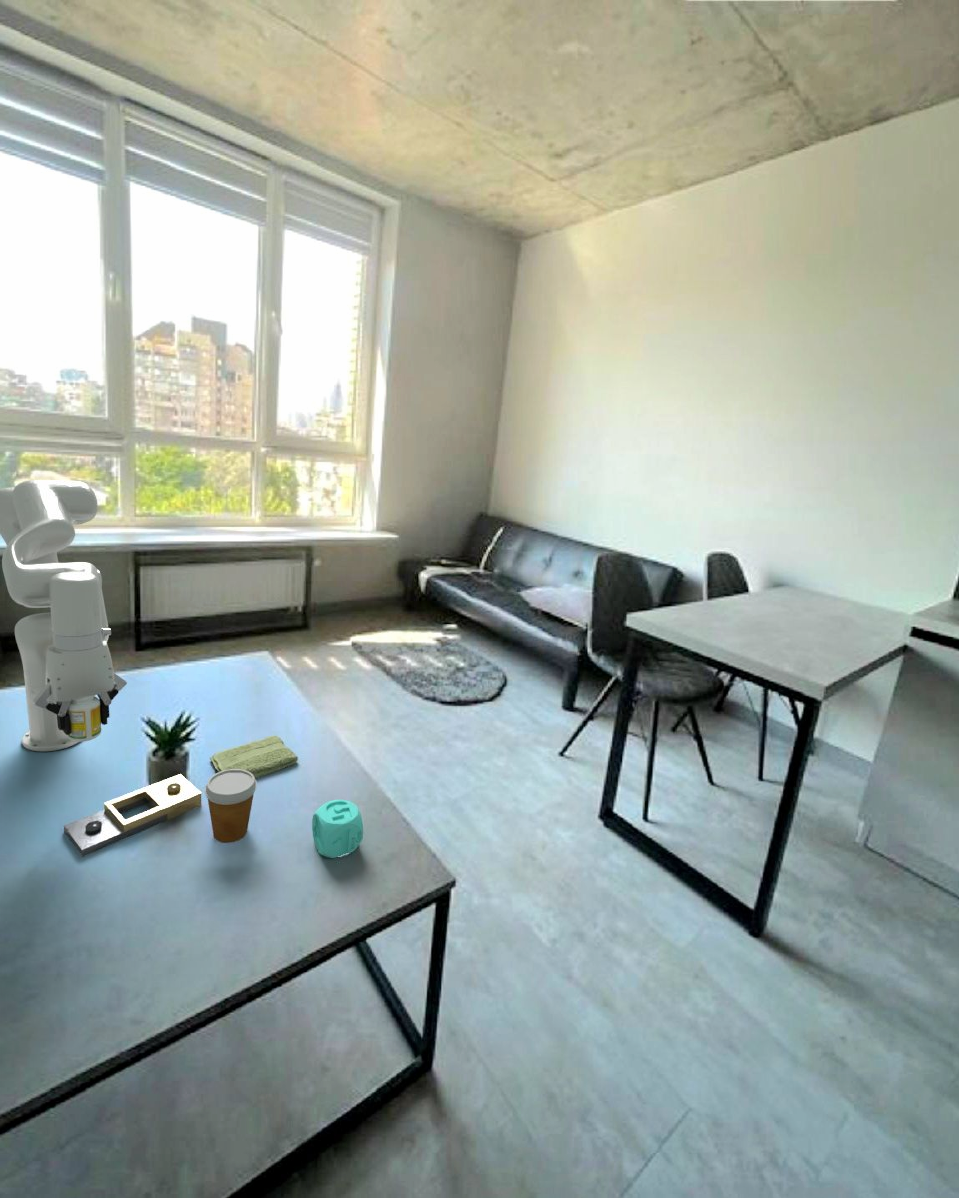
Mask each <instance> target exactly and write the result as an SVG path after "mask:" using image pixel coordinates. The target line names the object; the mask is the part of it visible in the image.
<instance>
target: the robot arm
mask: <svg viewBox="0 0 959 1198" xmlns="http://www.w3.org/2000/svg"><path fill="white" fill-rule="evenodd" d="M98 506H99V505H98V500H97V495H96V493H95V492H94V490H93V489H92V487H90V485H89V484H87V483H86V482H83V481H78V480H55V479H54V480H53V479H30V480H29V479H28V480H25V481H22V482H20V483H18V484H17V485H16V486H12V487H11V486H10V487H2V488H0V536H1V538H2V539H3V542H4V543H5V544H6V547H5V549H4V551H3V554H2V559H1V565H2V566H1V567H2V572H3V577H4V580H5V585H6V587H7V592H8V593H9V597H10V598H11V599H12V601H14V602H15V603H16V604H18V605H20V606H21V605H22V606H23V607H25V608H29V609H40V608H41V609H43V608H50V612H43V613H34V614H30V615H28V616H24V617H22V618H21V619H20V620H19V621H17V623H16V624H15V626H14V636H15V642H16V644H17V648H18V650H19V651H18V652H19V654H20V659H21V664H22V669H23V678H24V686H25V687H24V688H25V698H26V707H27V709H26V710H27V719H28V727H29V728H28V729H29V730H28V731H27V732H26V733H25V734H24V735H22V738H21V744H22V746H23V747H24V748H25V749H27V750H29V751H34V752H51V751H52V752H53V751H58V750H63V749H66V748H70V747H73V746H74V745H77V744H79V742H75V741H72V740H70V739H69V738H68V735H69V734H70V733H71V724H70V716H69V714H68V713H67V709H68V706H69V703H70V701H71V700H76V699H79V698H83V697H86V696H92V695H95V696H96V695H97V698H98V699H99V701H100V716H101V725H102V726H103V725H104V726H105V725H108V718H110V705H111V704H112V702H113V700H114V698H115V697H116V696H117V695H119V692H120V691H121V690H123V689H124V687H126V685H127V684H128V683H127V681H126V680H125V678H124V679H123V678H122V677H121V676H120V675H119V674H116V673H115V672H114V666H113V665H114V664H113V660H112V656H111V652H110V648H109V645H108V640H109V639H110V637H109V636H111V635H112V630H111V628H110V627H109V622H108V616H107V611H106V606H105V601H104V594H103V588H102V587H103V586H102V585H103V578H102V574H101V571H100V570H99V569H98V568H97V567H96V566H95V565H94V564H92V563H90V562H88V561H87V562H85V561H78V562H77V561H75V562H71V561H70V562H59V559H58V554H57V553H58V552H60V551H63V550H64V549H65V548H68V547H69V546H70V545H71V544H72V542H73V541H74V540H75V537H76V530H75V527H74V525H75V526H77V525H83V524H85V523H88V522H91V521H93V520H94V519H95V517H96V515H97V514H98V513H97V512H98Z"/></svg>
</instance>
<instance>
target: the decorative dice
mask: <svg viewBox="0 0 959 1198" xmlns="http://www.w3.org/2000/svg"><path fill="white" fill-rule="evenodd" d="M311 830H312V839H313V842H314V843H313V844H314V846H315V845H316V846H315V849H316V848H317V849H318V851H317V852H318V854H320V855H321V856H323V857H325V856H326V858H329V857H332V858H331V859H336V858H335V857H338V856H341V855H343V854H346V853H350V854H352V853H354V851H356V849H357V848H358V847H360V845H361V842H362V841H363V836H364V824H363V819H362V815H361V811H360V809H359V807H358V806H357V804H355V803H353V802H352V801H349V800H346V799H332V800H329V801H327V802H325V803H323V804H322V805H321V806H319V808H317V809H316V811H315V812H314V814H313V815H312V821H311ZM317 849H316V850H317ZM351 852H352V853H351Z"/></svg>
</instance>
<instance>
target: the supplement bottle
mask: <svg viewBox="0 0 959 1198" xmlns="http://www.w3.org/2000/svg"><path fill="white" fill-rule="evenodd" d="M67 713H68V714H69V716H70V724H71V733H70V734H69V735H68V738H69V739H70V740H72V741H75V742H78V743H84V742H88V741H92V740H94V739H96V738H98V737H99V736H100V735H101V733H102V723H101V716H100V701H99V698H98V696H97V697H96V695H92V696H86V697H83V698H79V699H76V700H71V701H70V703H69V706H68V709H67Z"/></svg>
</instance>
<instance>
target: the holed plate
mask: <svg viewBox="0 0 959 1198" xmlns="http://www.w3.org/2000/svg"><path fill="white" fill-rule="evenodd" d="M145 805H146V806H148V808H149V809H148V810H147V811H144V812H142V813H139V814H137V815H134V816H131V817H129V818H127V819H125V818H124V817H123V816H122V815H123V814H126V813H127V812H130V811H132V810H134V809H138V808H140V807H142V806H145ZM103 807H104V809H103V810H100V811H98V812H95V813H92V814H90V815H87V816H85V817H82V818H80V819H77V820H74V821H72V822H69V823H67V824H64V825H63V833H64V835H65V836H66V837H67V838H68V840H69V841H70V843H72V845H73V846H74V848H75V850H77V852H78V853H79V855H80V856H81V857H82V858H83V857H86V856H88V855H91V854H93V853H95V852H98V851H99V850H103V849H105V848H107V847H109V846H111V845H113V844H116V843H118V842H121V841H123V840H126V839H128V838H130V837H132V836H134V835H137V834H139V833H141V832H144V831H146V830H148V829H151V828H154V827H155V826H157V825H159V824H162V823H165V822H167V821H170V820H171V819H174V818H176V817H178V816H181V815H183V814H186V813H188V812H190V811H193V810H195V809H197V808H200V807H202V791H200V790H199V789H198V788H196V786H194V785H193V784H192V783H191V782H190V781H189V780H188V779H187V778H185V776H183V775H182V774H181V773H180V774H177V775H174V776H172V777H169V778H167V779H163V780H161V781H159V782H155V783H152V784H151V785H148V786H145V787H143V788H140V789H137V790H134V791H133V792H129V793H127V794H123V795H122V796H119V797H117V798H113V799H111V800H108V801H106V802H103Z"/></svg>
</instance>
